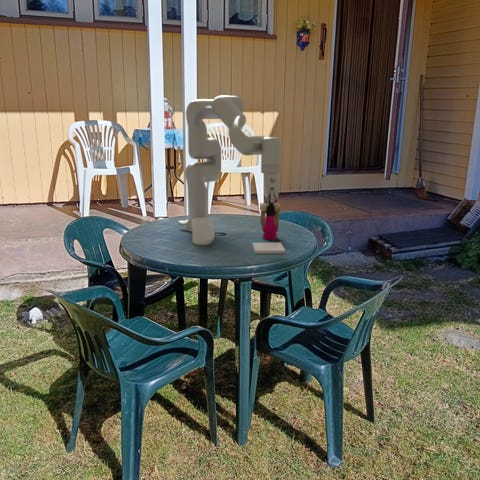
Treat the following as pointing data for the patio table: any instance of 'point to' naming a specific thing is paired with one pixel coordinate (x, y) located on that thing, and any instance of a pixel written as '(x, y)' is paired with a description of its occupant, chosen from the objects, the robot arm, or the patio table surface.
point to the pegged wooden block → (264, 209)
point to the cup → (202, 231)
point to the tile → (268, 248)
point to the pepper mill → (270, 227)
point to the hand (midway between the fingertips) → (269, 213)
